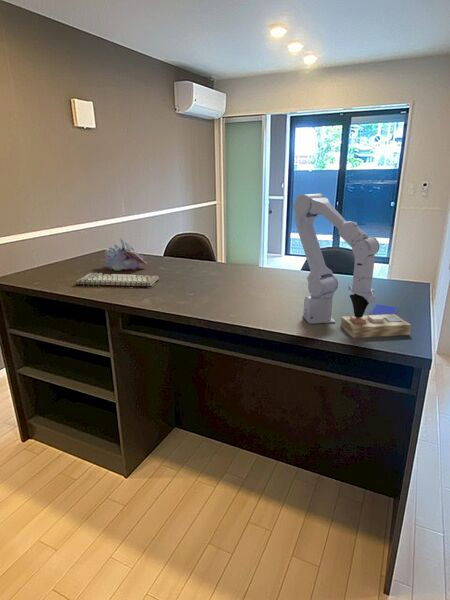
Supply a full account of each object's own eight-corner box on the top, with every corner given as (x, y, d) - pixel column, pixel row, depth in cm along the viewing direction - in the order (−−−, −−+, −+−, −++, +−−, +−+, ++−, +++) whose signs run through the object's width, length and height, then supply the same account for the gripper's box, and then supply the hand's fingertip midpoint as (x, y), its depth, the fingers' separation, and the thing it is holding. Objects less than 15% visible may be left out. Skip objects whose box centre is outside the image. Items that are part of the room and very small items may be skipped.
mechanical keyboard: (161, 279, 193) (161, 272, 192) (151, 290, 175) (151, 283, 174) (88, 278, 196) (87, 271, 195) (71, 289, 178) (70, 282, 177)
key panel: (353, 337, 122) (354, 327, 121) (340, 326, 131) (341, 316, 130) (409, 334, 124) (411, 324, 123) (392, 323, 134) (394, 314, 132)
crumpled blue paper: (101, 257, 219) (99, 232, 206) (138, 252, 228) (139, 228, 215) (109, 282, 207) (108, 258, 195) (148, 276, 216) (150, 252, 203)
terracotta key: (354, 325, 124) (355, 320, 124) (350, 321, 128) (350, 316, 127) (365, 325, 125) (366, 319, 124) (360, 321, 128) (360, 315, 127)
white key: (372, 325, 125) (373, 319, 124) (367, 321, 128) (367, 315, 128) (382, 324, 125) (383, 318, 125) (377, 320, 129) (378, 314, 128)
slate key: (389, 327, 126) (390, 321, 125) (383, 323, 129) (384, 317, 129) (399, 326, 126) (400, 321, 126) (393, 322, 130) (394, 317, 129)
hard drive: (393, 317, 137) (398, 307, 147) (369, 313, 141) (375, 303, 151) (392, 321, 137) (397, 311, 147) (368, 317, 141) (375, 307, 151)
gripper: (386, 281, 115) (381, 324, 119) (364, 270, 129) (360, 308, 133) (364, 282, 114) (359, 325, 118) (344, 271, 128) (340, 309, 132)
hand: (358, 316), depth 125 cm, fingers closed
